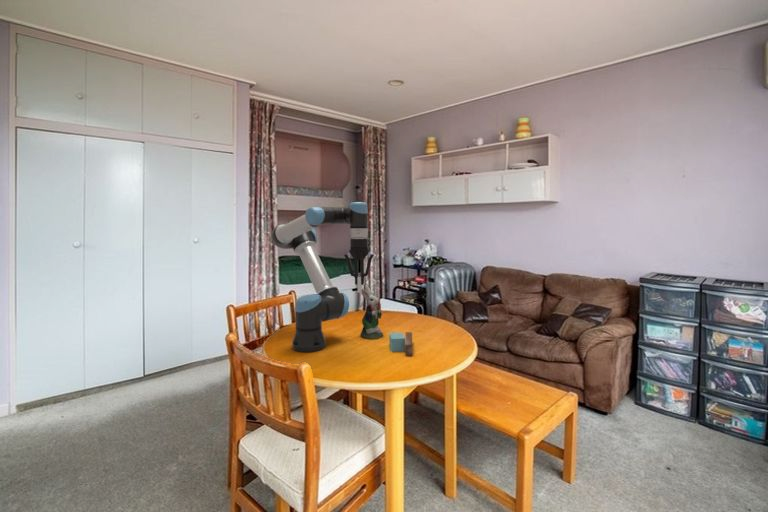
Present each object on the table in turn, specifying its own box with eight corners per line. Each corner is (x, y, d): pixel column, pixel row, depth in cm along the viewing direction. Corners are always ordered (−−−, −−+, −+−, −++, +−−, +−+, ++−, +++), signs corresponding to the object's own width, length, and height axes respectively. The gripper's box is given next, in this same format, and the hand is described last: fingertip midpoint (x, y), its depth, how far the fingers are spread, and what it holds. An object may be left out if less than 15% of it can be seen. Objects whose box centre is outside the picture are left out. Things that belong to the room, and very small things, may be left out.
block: (391, 352, 173) (391, 338, 173) (389, 345, 182) (389, 332, 182) (405, 351, 174) (405, 338, 173) (402, 345, 183) (402, 332, 182)
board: (405, 355, 168) (405, 344, 168) (405, 342, 186) (405, 332, 186) (412, 356, 168) (412, 344, 167) (412, 342, 186) (412, 332, 185)
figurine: (379, 342, 191) (385, 292, 187) (353, 338, 193) (359, 288, 190) (384, 335, 201) (390, 288, 198) (359, 331, 204) (365, 284, 200)
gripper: (342, 238, 167) (343, 293, 170) (373, 238, 166) (373, 293, 169) (345, 237, 175) (346, 290, 177) (374, 237, 174) (375, 290, 176)
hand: (359, 292), depth 173 cm, fingers closed
